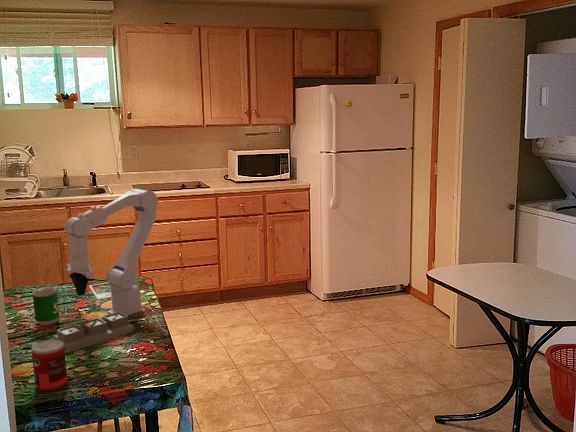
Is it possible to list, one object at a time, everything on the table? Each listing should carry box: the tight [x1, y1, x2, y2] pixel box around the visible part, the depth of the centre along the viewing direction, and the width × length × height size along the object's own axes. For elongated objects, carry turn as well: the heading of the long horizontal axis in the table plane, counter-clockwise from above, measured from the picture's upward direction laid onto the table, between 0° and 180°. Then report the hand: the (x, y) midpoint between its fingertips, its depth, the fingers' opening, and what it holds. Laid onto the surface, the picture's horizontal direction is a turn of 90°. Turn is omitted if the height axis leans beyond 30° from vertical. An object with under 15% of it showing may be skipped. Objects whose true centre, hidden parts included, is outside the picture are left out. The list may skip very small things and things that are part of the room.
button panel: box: [53, 312, 134, 353], centre depth 185 cm, size 21×11×5 cm, turn 135°
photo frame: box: [88, 282, 112, 301], centre depth 230 cm, size 15×1×18 cm
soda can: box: [32, 284, 60, 326], centre depth 197 cm, size 8×8×12 cm
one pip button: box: [61, 327, 79, 334], centre depth 180 cm, size 4×4×2 cm
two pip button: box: [107, 314, 123, 320], centre depth 190 cm, size 4×4×2 cm
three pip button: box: [85, 321, 102, 327], centre depth 185 cm, size 4×4×2 cm
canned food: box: [31, 339, 68, 392], centre depth 154 cm, size 8×8×11 cm
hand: (81, 294), depth 193 cm, fingers closed
